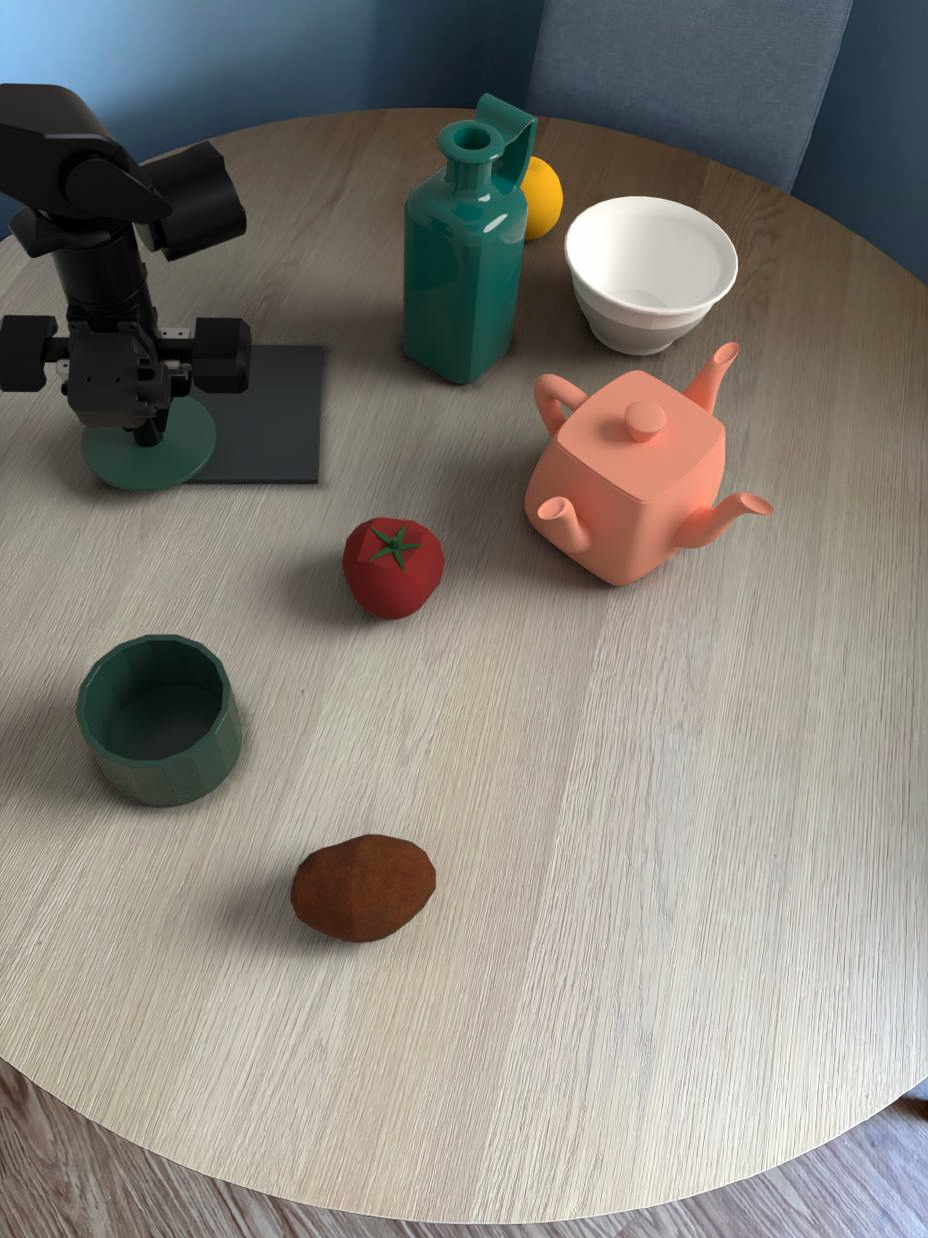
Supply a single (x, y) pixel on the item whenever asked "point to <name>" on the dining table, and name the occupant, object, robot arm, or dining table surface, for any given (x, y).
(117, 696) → the tin
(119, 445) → the tin lid
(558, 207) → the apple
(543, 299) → the dining table surface
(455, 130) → the pitcher
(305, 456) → the mat
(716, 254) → the bowl
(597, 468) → the pot
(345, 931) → the potato
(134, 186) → the robot arm
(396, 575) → the tomato
